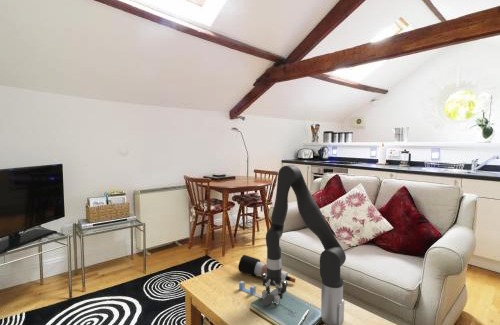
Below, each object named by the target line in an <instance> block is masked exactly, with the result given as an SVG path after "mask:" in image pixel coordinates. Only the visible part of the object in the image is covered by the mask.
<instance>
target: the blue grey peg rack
mask: <svg viewBox="0 0 500 325" xmlns="http://www.w3.org/2000/svg"><path fill="white" fill-rule="evenodd" d="M245 285H246V282H245V281H244V280H241V281H239V282H238V288H239V289H238V290H239V291H243V292H244V293H247V294H249V295H251V296H255V297H257V298H259V299H261V298H265V297H266V296H267V291H266V289H263V290H262V291H261V294H260V293H256V292H257V290H256V289H257V288H256V285H253V284H252V285H251V286H249V289H247V287H246V286H245ZM273 301H274V302H276V303H279V302H280V303H281V300H280V296H279V295H276V296H274V300H273Z"/></svg>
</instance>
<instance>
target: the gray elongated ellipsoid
mask: <svg viewBox="0 0 500 325" xmlns="http://www.w3.org/2000/svg"><path fill="white" fill-rule="evenodd" d="M278 293H279V292H278V290H277V289H276V288H275V289H274V290H272V291H270V294H269V295H267V296H266V297H265V298H264V299H261V304H262V306H263V307H268V306H269V305H270V304H272V303H271V302H272V301H274V296H276V295H278ZM267 305H268V306H267Z"/></svg>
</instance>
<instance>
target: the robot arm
mask: <svg viewBox="0 0 500 325" xmlns="http://www.w3.org/2000/svg"><path fill="white" fill-rule="evenodd" d="M291 189H292V191H293V193H294V195H295V198H296V204H297V209H298V212H299V214H300V217H301V219H302V221H303V223H304V224H305V226H306V227H307V228H308V229H309V230H310V231H311V232H312V233H313V234H314V235H315V236H316V237H317V238H318V240H320V243H321V245H322V247H323V249H324V250H323V251H322V252H321V253H320V257H319V276H320V278H321V288H320V289H321V290H320V292H321V294H320V295H321V298H320V300H321V301H320V302H321V304H320V309H321V310H320V318H321V317H322V319H321V321H322V322H323V323H324V324H326V325H342V323H343V321H344V320H345V299H344V298H343V297H344V295H343V294H344V278H343V276H342V275H341V267H342V266H343V265H344V264H345V262H346V260H347V258H346V257H347V256H346V253H345V250H344V249H343V247H342V245H341V244H340V243H339V241H338V240H337V238H336V236H335V235H334V233H333V232H332V230H331V228H330V226H329V224H328V223H327V221H326V219H325V217H324V215H323V213H322V211H321V208H320V207H319V205H318V204H317V202H316V200H315V198H314V197H313V195H312V193H311V191H310V189H309V187H308V186H307V183H306V181H305V179H304V176H303V172H302V171H301V170H300V168H299V167H298V166H296V165H292V164H290V165H283V166H281V168H279V170H278V174H277V184H276V192H275V193H276V194H275V198H274V199H275V201H274V205H273V208H272V214H271V217H270V221H271V222H270V227H269V228H268V230H267V231H266V233H265V244H266V249H267V251H266V265H267V274H266V273H264V274H263V275H262V276H261V283H262V286H263V287H265V290H266V291H267V295H268V294H270V293H271V286H274V287H275V289H277V290H278V292H279V293H278V295H279V296H280V299H281V300H283V295H284V294H285V293H286V292H287V286H288V285H287V283H288V281H287V280H285V281H283V280H282V279H281V270H283V269H282V266H283V265H282V248H281V245H280V240H281V237H282V236H283V232H284V226H285V221H286V219H287V214H288V208H289V192H290V190H291Z"/></svg>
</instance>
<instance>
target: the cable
mask: <svg viewBox="0 0 500 325" xmlns="http://www.w3.org/2000/svg"><path fill="white" fill-rule="evenodd" d="M237 269H238V271H239V272H241V273H243V274H246V275H249V276H251V277H256V276H260V277H262V275H263V274H264V273H266V274H267V263H263V262H261V259H258V258H256V257H253V256H249V255H247V254H243V255H242V256H241V257H240V260H239V262H238V268H237ZM288 274H289V272H288V271H284V270H283V269H281V279H282V280H283V281H285V280H286V281H287V282H291V283H296V278H294V277H291V276H288Z"/></svg>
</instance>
